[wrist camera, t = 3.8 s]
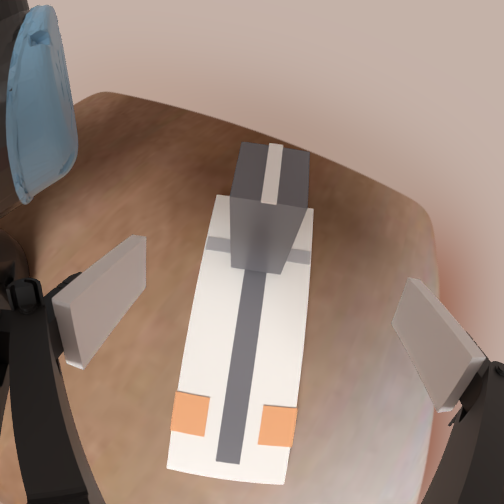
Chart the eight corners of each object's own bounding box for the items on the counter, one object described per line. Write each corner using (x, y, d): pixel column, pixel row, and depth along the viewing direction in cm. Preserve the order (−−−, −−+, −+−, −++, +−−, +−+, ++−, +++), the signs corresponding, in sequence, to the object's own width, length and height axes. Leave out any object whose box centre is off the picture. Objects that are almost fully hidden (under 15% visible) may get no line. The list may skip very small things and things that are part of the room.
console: (281, 477, 20) (285, 485, 18) (170, 461, 20) (165, 468, 18) (309, 219, 30) (314, 208, 28) (216, 205, 30) (215, 193, 28)
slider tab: (280, 275, 24) (308, 207, 15) (230, 268, 24) (229, 195, 15) (285, 230, 26) (310, 149, 17) (238, 223, 26) (241, 139, 17)
